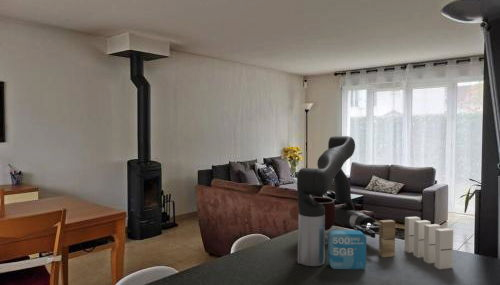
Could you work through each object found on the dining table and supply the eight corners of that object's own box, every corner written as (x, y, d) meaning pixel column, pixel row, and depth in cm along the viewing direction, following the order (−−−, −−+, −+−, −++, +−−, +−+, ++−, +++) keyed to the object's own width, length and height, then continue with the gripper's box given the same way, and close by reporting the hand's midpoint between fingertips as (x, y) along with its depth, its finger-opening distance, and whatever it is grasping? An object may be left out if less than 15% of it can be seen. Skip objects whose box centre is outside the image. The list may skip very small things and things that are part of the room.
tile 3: (413, 255, 139) (414, 220, 138) (425, 254, 140) (426, 220, 139) (417, 257, 136) (418, 222, 136) (429, 256, 137) (430, 221, 137)
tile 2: (404, 250, 144) (404, 217, 143) (415, 249, 145) (416, 216, 144) (408, 252, 142) (409, 218, 141) (419, 251, 143) (420, 218, 142)
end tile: (434, 266, 128) (435, 229, 127) (447, 265, 129) (447, 228, 128) (439, 269, 126) (440, 231, 125) (452, 267, 127) (453, 230, 126)
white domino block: (423, 260, 133) (424, 224, 133) (435, 259, 134) (436, 223, 134) (428, 263, 131) (429, 226, 130) (440, 262, 132) (441, 225, 131)
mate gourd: (342, 240, 156) (342, 193, 155) (321, 247, 147) (321, 197, 146) (313, 232, 168) (313, 188, 167) (292, 238, 159) (292, 192, 158)
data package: (330, 269, 126) (330, 234, 125) (327, 264, 131) (328, 230, 130) (366, 269, 126) (366, 234, 125) (362, 264, 130) (362, 230, 130)
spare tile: (378, 254, 139) (379, 220, 139) (390, 253, 140) (391, 219, 140) (382, 257, 137) (383, 222, 136) (394, 256, 138) (395, 221, 137)
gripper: (346, 215, 154) (367, 225, 138) (377, 213, 157) (401, 223, 141) (346, 233, 154) (367, 245, 138) (377, 231, 157) (401, 242, 141)
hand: (384, 234), depth 140 cm, fingers open, 8 cm apart
